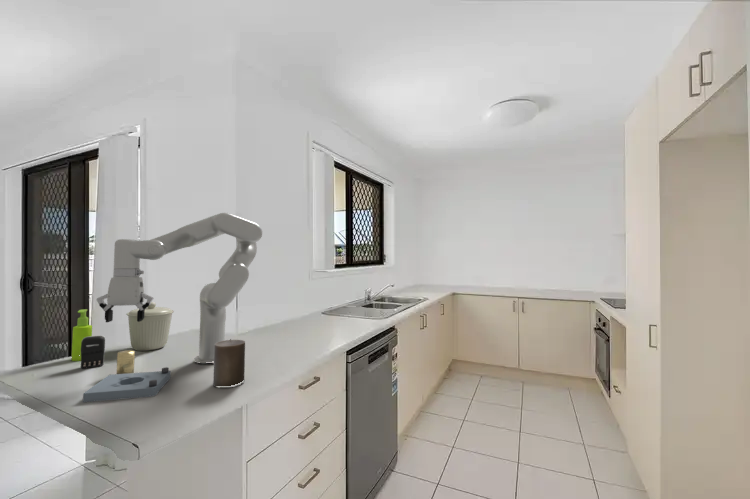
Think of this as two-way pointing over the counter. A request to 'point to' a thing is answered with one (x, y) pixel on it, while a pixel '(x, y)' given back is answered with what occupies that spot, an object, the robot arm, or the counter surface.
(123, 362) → the brass cylinder
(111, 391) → the plate
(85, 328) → the soap dispenser
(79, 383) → the counter surface
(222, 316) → the robot arm
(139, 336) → the canister
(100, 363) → the battery charger
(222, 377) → the pillar candle
